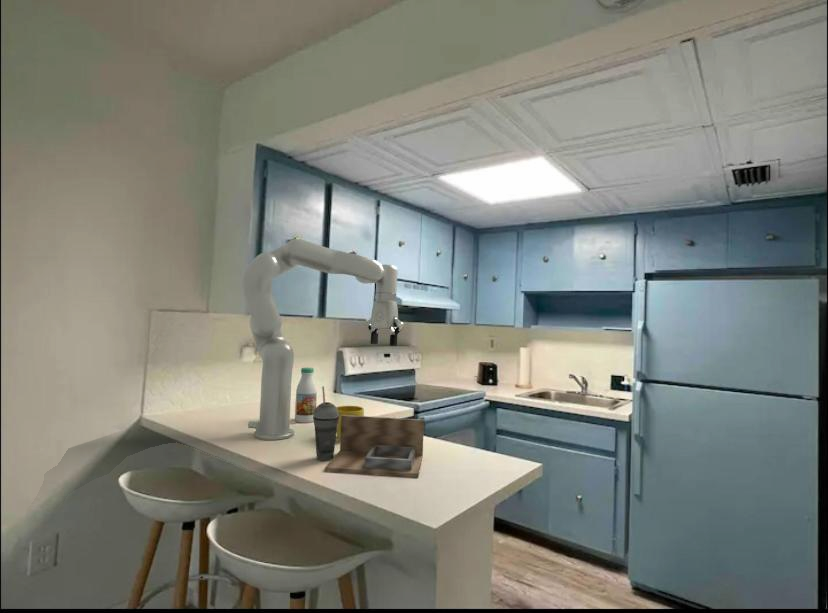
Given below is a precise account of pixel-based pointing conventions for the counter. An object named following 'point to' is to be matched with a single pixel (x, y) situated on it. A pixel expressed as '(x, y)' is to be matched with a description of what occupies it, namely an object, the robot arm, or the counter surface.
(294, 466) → the counter surface
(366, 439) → the cup bracket
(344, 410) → the plant pot
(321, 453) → the beverage cup
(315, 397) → the milk bottle
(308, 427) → the counter surface
